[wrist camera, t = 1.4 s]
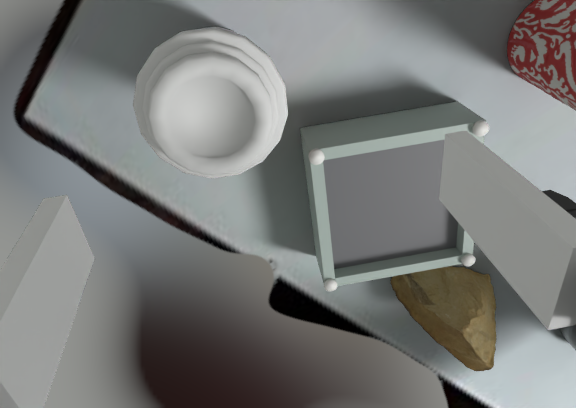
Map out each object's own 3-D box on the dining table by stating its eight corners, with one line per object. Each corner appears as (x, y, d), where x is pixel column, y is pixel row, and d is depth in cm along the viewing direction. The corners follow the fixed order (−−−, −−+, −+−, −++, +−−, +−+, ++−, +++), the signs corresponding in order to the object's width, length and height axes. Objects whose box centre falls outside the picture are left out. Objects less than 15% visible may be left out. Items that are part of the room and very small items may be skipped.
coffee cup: (288, 104, 37) (310, 164, 27) (185, 138, 38) (170, 210, 28) (251, -11, 33) (262, 9, 23) (135, 30, 33) (94, 67, 23)
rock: (368, 305, 47) (425, 356, 50) (427, 318, 39) (491, 378, 42) (415, 224, 50) (467, 277, 54) (478, 223, 43) (534, 284, 46)
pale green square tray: (450, 233, 46) (475, 265, 42) (315, 257, 46) (325, 292, 41) (458, 100, 39) (490, 121, 34) (298, 127, 39) (308, 151, 34)
